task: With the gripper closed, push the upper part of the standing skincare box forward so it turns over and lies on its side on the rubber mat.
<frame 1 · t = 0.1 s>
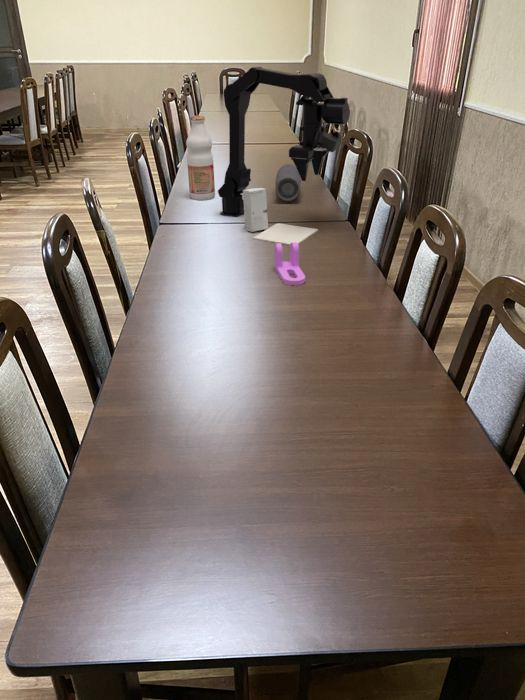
hand: (310, 177, 163), 15 cm above the table, tool pointing down, fingers open, 9 cm apart
fruit juice: (202, 197, 201), on the table
rubber mat: (286, 234, 162), on the table
bracket: (290, 276, 135), on the table
skincare box: (257, 230, 166), on the table, touching rubber mat
bluetooth speaker: (287, 196, 201), on the table
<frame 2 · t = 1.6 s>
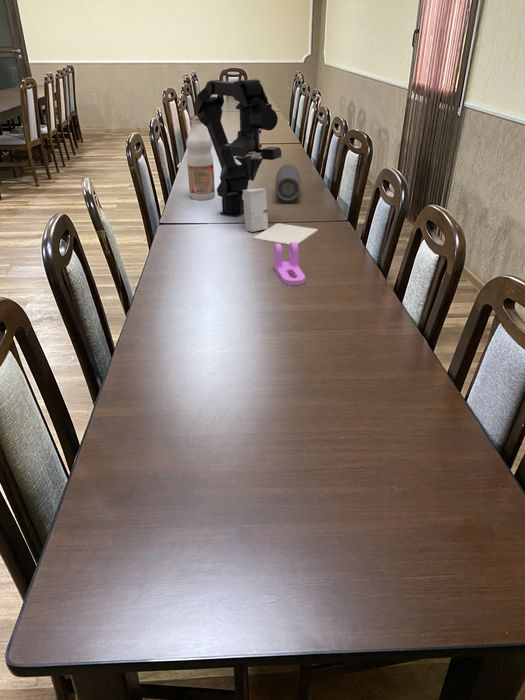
hand: (250, 180, 167), 13 cm above the table, tool pointing down, fingers closed
nothing on the table moved.
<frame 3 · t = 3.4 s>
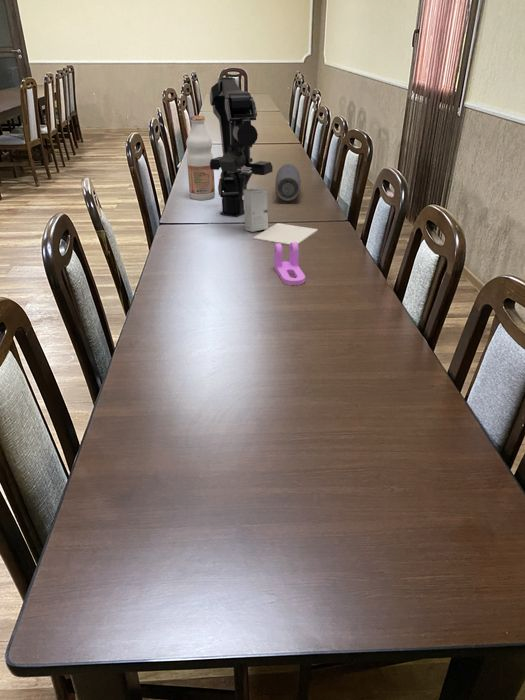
hand: (241, 195, 163), 10 cm above the table, tool pointing down, fingers closed
skincare box: (257, 229, 166), on the table, touching gripper, rubber mat
everything else where it was.
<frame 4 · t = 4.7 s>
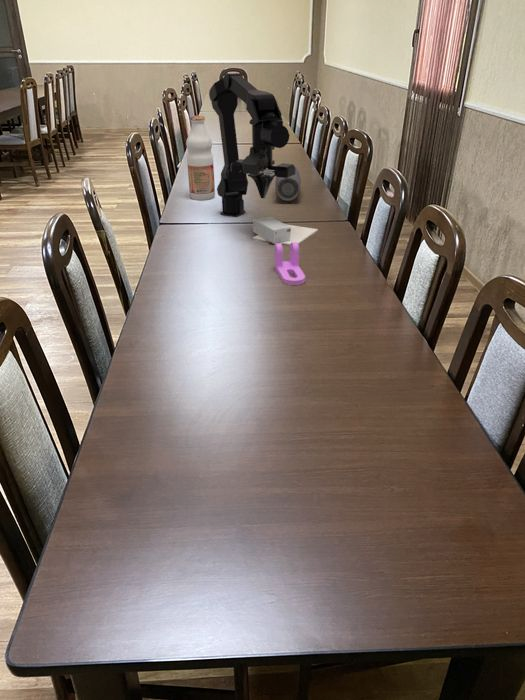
hand: (262, 198, 160), 10 cm above the table, tool pointing down, fingers closed
skincare box: (261, 223, 163), point 3 cm above the table, touching rubber mat
everything else where it was.
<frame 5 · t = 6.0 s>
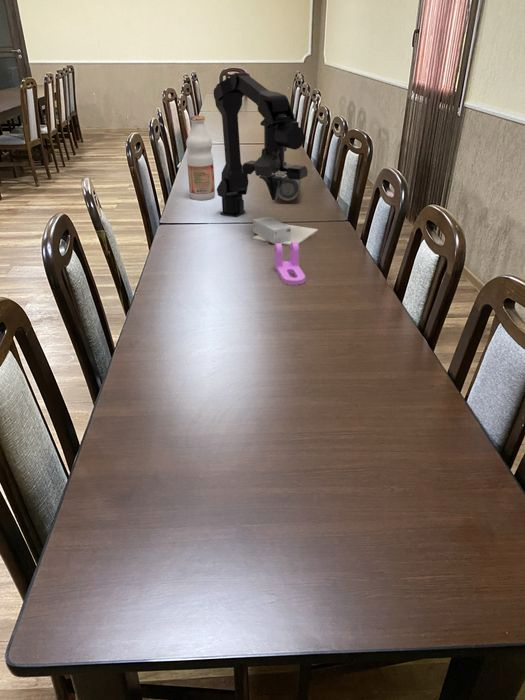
hand: (274, 199, 159), 10 cm above the table, tool pointing down, fingers closed
nothing on the table moved.
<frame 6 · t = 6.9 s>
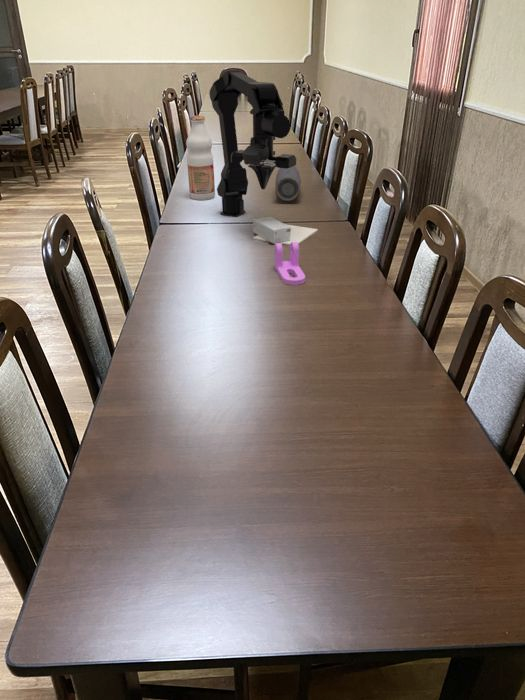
hand: (263, 189, 159), 13 cm above the table, tool pointing down, fingers closed
nothing on the table moved.
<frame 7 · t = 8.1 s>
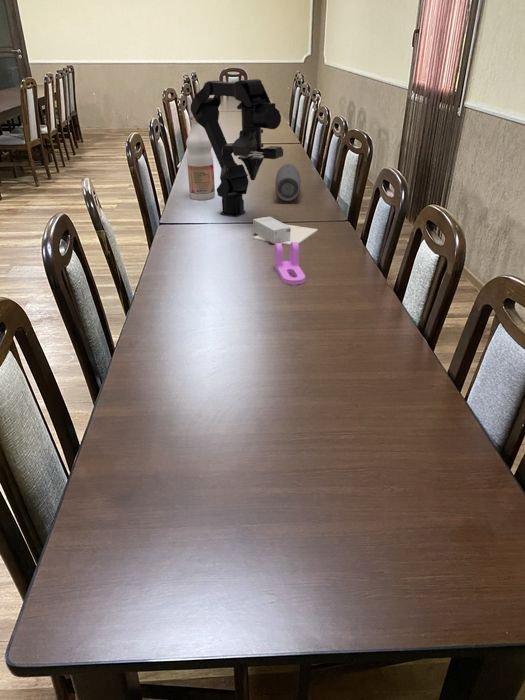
hand: (252, 180, 168), 13 cm above the table, tool pointing down, fingers closed
nothing on the table moved.
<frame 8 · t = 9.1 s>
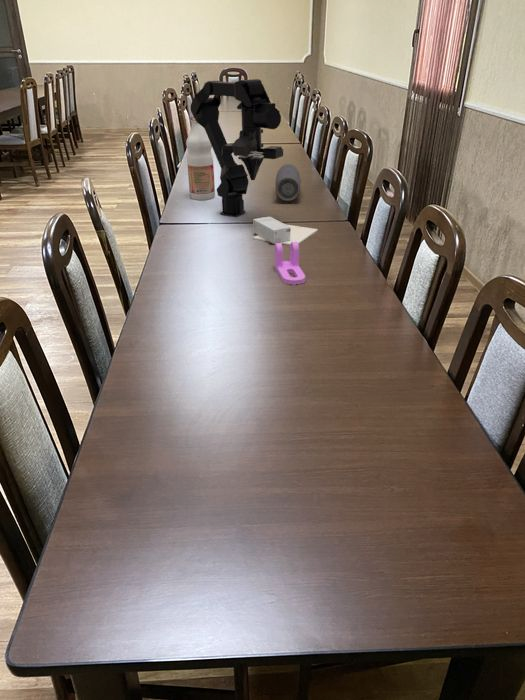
hand: (252, 180, 168), 13 cm above the table, tool pointing down, fingers closed
nothing on the table moved.
at the end: skincare box tilted 92°; skincare box inside the target area (3.0 cm from its centre), point 2.8 cm above the table; the gripper is holding nothing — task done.
